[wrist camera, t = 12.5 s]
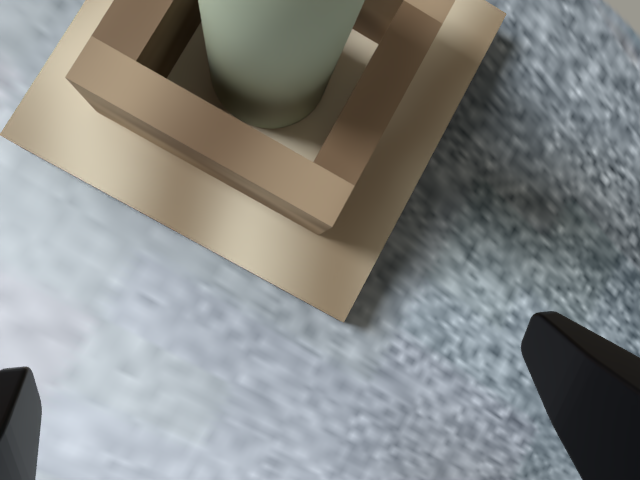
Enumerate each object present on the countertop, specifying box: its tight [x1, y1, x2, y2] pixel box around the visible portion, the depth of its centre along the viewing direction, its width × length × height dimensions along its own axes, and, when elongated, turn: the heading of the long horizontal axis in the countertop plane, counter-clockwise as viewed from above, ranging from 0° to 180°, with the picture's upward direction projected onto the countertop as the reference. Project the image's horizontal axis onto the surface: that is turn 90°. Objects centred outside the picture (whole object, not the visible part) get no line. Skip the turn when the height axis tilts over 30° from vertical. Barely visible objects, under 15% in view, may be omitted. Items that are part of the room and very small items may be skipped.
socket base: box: [0, 0, 506, 322], centre depth 20 cm, size 14×14×5 cm
